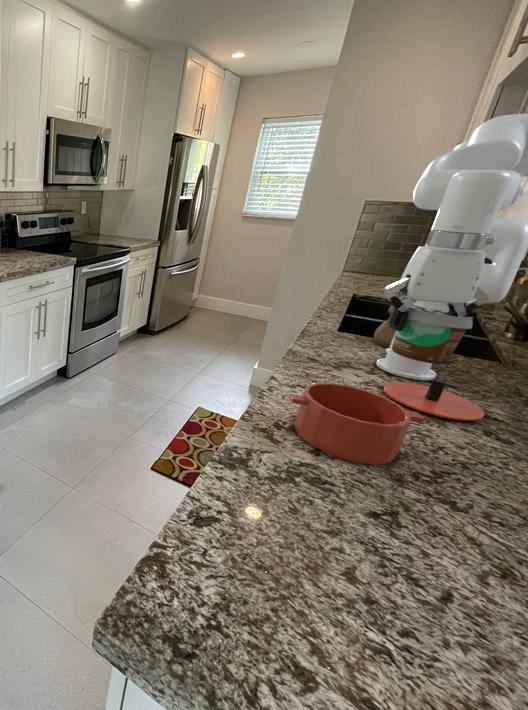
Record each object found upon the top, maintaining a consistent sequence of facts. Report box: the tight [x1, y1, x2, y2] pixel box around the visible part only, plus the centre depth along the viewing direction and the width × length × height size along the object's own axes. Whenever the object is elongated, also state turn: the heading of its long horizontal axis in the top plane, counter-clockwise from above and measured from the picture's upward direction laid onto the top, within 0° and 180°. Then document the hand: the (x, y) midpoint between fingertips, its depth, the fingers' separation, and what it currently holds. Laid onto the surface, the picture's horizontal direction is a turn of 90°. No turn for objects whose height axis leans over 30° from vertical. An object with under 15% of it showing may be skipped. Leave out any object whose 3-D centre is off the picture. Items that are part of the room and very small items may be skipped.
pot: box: [288, 382, 425, 465], centre depth 83 cm, size 17×22×8 cm
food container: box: [392, 305, 474, 365], centre depth 82 cm, size 12×6×10 cm, turn 4°
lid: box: [383, 377, 485, 422], centre depth 98 cm, size 18×18×6 cm
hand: (419, 330), depth 82 cm, fingers closed on food container, 7 cm apart
